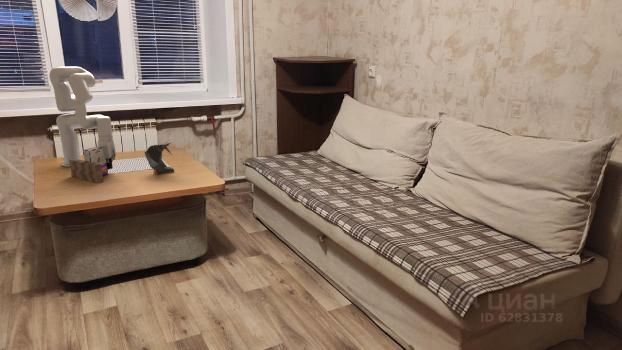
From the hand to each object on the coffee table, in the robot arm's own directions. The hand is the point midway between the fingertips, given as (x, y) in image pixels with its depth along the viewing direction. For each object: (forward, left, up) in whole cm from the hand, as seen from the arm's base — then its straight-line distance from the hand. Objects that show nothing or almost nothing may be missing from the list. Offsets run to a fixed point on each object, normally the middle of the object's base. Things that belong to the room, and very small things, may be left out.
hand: (109, 168), depth 259 cm
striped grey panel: (0, -14, -3) cm, 15 cm away
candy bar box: (-1, -7, -3) cm, 8 cm away
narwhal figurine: (+24, +17, -3) cm, 29 cm away
